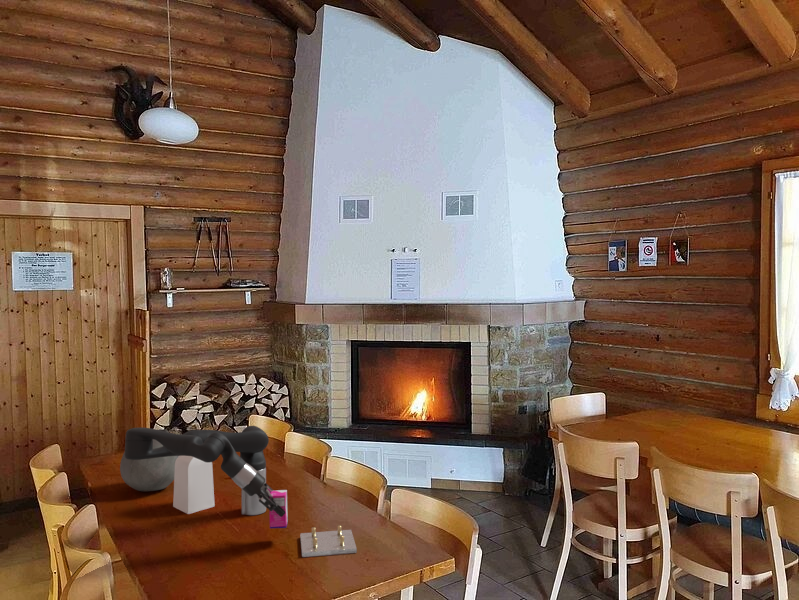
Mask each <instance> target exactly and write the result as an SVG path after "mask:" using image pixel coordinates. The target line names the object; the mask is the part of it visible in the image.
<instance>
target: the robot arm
mask: <svg viewBox="0 0 799 600" xmlns="http://www.w3.org/2000/svg"><path fill="white" fill-rule="evenodd" d="M124 439H125V443H124V452H125V458H126V459H129V460H142V459H151V458H159V457H168V456H192V457H194V458H197V459H199V460H201V461H204V462H212V463H213V462H215V461H216V460H217V459H218V458H219V457H220V456H221V458H222V461H221V465H220V470H222V472H223V473H225V474H226V476H228V477H229V478H230V479H231V480H232V481H233V482H234V483H235V485H237V486H238V487H239V488H240V489H241V515H246V516H257V515H261V514H264V513H265V512H266V511H267V510H270V511H272V510H274V511H275V512H276V513H277V514H278V515H279V516H281V517H282V516H283V515H284V514H285V510H283V509H282V508H281V507H280V506H279V505H278V504H277V503H276V502H275V501H274V498H273V497H272V495H271V494H270V492H272V491H275V490H274V489H273V488H272V487H271V486H270V485H269V484H268V483H267V460H266V458H265V454H264V450H265V449H266V448H267V447H268V445H269V441H270V440H269V436H268V434H267V433H266V431H264V430H263V429H261V427H258V426H256V425H249V426H246V427H245V428H243V430H242V431H241V432H240V431H239V432H230V431H229V432H228V431H222V430H215V429H193V430H189V431H186V432H184V433H183V434H179V433H172V432H169V431H168V432H165V431H161V430H158V429H156V428H150V427H133V428H130V429H127V430H126V433H125V438H124ZM153 439H155V440H156V441H158V442H159V443H161V444H162V445H163V446H162V447H159V448H155V449H153ZM238 453H239V454H238ZM269 496H270V497H271V500H270V499H269ZM270 504H272V506H271V505H270Z"/></svg>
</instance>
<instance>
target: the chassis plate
mask: <svg viewBox="0 0 799 600" xmlns="http://www.w3.org/2000/svg"><path fill="white" fill-rule="evenodd" d="M342 528H343V527H342V525H340V524H338V525H337V530H328V531H327V530H326V531H316V529H317V527H315V526H313V527H311V532H301V533H300V535H299V536H300V538H299V539H300V548H301V558H310V557H321V556H333V555H334V556H336V555H346V554H348V555H349V554H357V552H358V551H357V549H358V548H357V544H356V542H355V538H354V535H353V532H352V529H342Z"/></svg>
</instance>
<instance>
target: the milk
mask: <svg viewBox="0 0 799 600" xmlns="http://www.w3.org/2000/svg"><path fill="white" fill-rule="evenodd" d="M213 471H214V469H213V462H204V461H201V460H199V459H197V458H194V457H192V456H179V457H178V458H177V459H176V461H175V476H174V480H173V500H172V501H173V503H172V507H173V508H175V509H177V510H179V511H181V512H183V513H185V514H187V515H190V514H193V513H196V512H199V511H200V512H202V511H203V510H207V509H210V508H213V507H214V508H215V505H216V504H215V503H216V502H215V494H214V493H215V492H214V491H215V489H214V487H215V485H214V472H213Z"/></svg>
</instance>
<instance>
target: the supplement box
mask: <svg viewBox="0 0 799 600" xmlns="http://www.w3.org/2000/svg"><path fill="white" fill-rule="evenodd" d="M270 494H271V495H272V497H273V498H274V501H275V502H276V503H277V504H278V505H279V506H280V507H281V508H282V509H283V510H285V514H284V515H283V516H282V517H281V516H279V515H278V514H277V513H276V512H275V511H274V510H272V511H270V510H269V509H268V510H269V513H268V514H269V529H286V528H287V526H288V522H289V519H288V490H287V489H278V490H274V491H272V492H270ZM269 499H270V500H271V497H270V496H269ZM270 505H271V506H272V504H270Z"/></svg>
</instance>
